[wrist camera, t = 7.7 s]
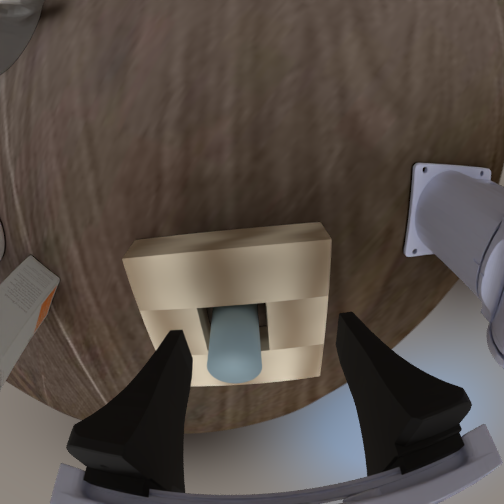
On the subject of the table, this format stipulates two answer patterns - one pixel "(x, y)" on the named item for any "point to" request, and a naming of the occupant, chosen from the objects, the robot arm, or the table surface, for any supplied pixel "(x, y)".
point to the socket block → (238, 292)
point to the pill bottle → (1, 242)
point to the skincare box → (23, 309)
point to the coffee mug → (16, 28)
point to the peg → (235, 344)
